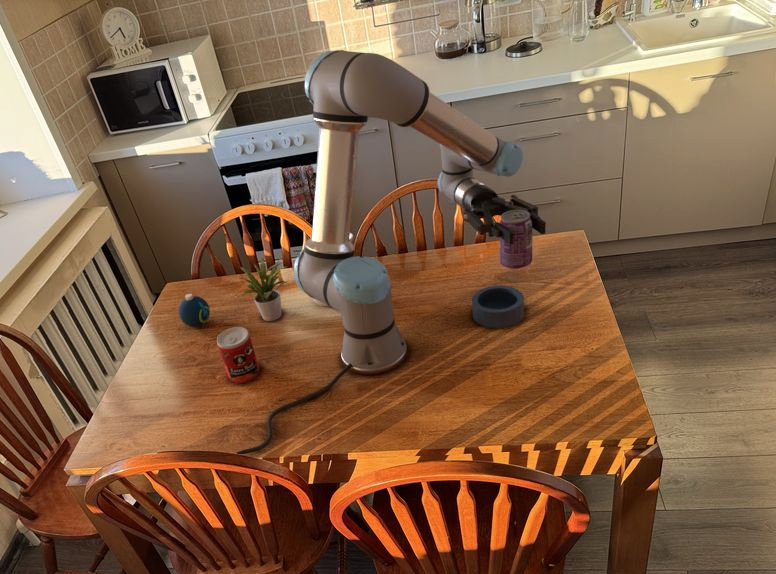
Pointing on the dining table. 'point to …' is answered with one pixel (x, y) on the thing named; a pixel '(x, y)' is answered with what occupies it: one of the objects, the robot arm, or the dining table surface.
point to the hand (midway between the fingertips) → (527, 233)
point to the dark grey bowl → (498, 306)
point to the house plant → (266, 291)
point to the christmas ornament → (194, 311)
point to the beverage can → (516, 239)
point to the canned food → (238, 354)
